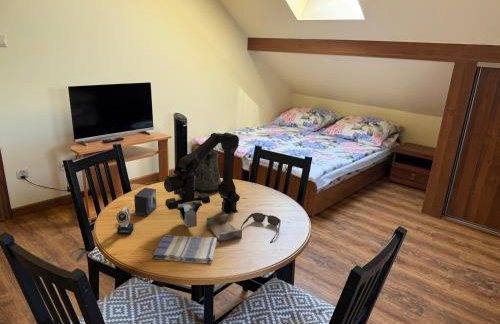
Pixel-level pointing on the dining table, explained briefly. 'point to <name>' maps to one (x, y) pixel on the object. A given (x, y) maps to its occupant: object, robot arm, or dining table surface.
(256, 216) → the sunglasses
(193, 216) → the light blue rectangular block
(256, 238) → the dining table surface
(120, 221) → the watch
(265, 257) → the dining table surface
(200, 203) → the robot arm
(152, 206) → the small box
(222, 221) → the cradle
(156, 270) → the dining table surface
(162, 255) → the dish towel
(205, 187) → the beer stein
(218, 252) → the dining table surface
